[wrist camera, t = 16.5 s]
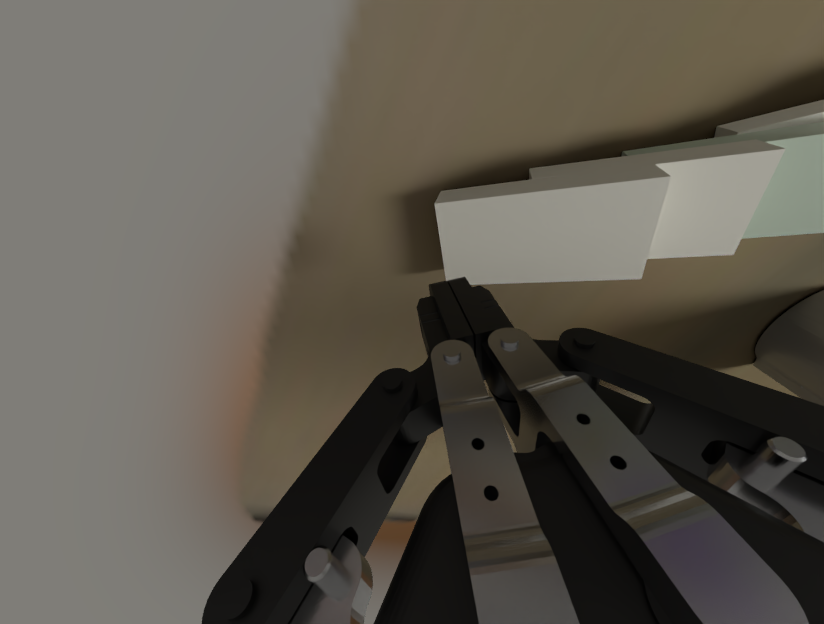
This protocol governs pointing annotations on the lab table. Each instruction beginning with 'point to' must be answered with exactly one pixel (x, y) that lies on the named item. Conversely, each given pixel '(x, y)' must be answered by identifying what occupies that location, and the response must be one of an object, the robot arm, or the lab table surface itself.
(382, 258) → the lab table surface
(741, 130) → the domino
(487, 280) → the domino
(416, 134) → the lab table surface
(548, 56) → the lab table surface
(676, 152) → the domino
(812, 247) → the lab table surface
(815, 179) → the domino
